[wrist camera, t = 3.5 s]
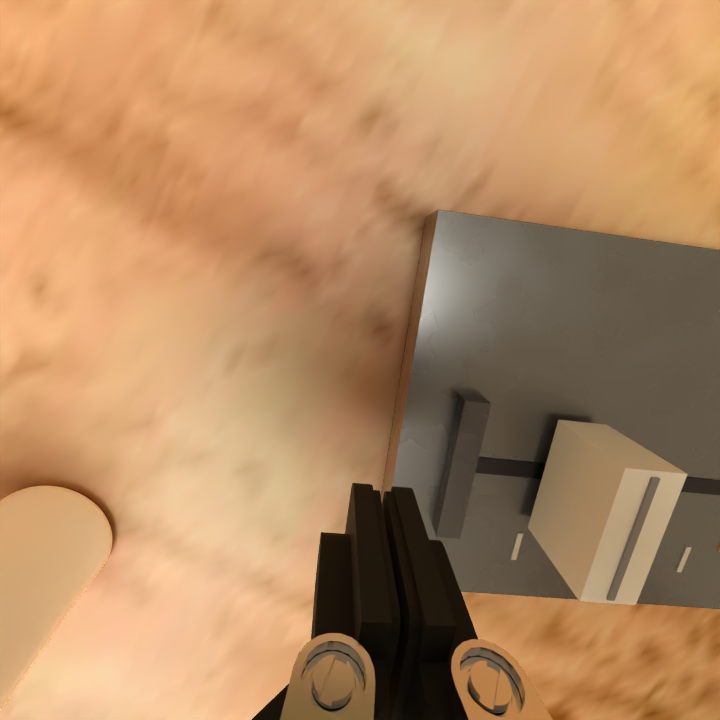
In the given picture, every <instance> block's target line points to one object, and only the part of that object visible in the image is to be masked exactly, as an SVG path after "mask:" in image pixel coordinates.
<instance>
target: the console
mask: <svg viewBox="0 0 720 720" xmlns="http://www.w3.org/2000/svg"><path fill="white" fill-rule="evenodd" d="M558 420H567V421H577V422H587V423H596V424H606V425H608V426H610V427H611V428H613V429H615V430H616V431H618V432H620V433H621V434H623V435H624V436H626V437H628V438H629V439H631V440H633V441H634V442H636V443H638V444H639V445H641V446H643V447H644V448H646V449H647V450H649V451H651V452H652V453H654V454H656V455H657V456H659V457H661V458H662V459H664V460H665V461H667V462H669V463H670V464H672V465H674V466H675V467H677V468H679V469H680V470H682V471H684V472H685V473H687V477H686V479H685V482H684V484H683V487H682V490H681V492H680V495H679V497H678V500H677V502H676V505H675V507H674V510H673V512H672V515H671V517H670V520H669V522H668V525H667V527H666V530H665V532H664V535H663V537H662V540H661V543H660V545H659V548H658V550H657V553H656V555H655V558H654V560H653V563H652V565H651V568H650V570H649V573H648V575H647V578H646V580H645V583H644V585H643V588H642V590H641V593H640V596H639V598H638V601H637V603H639V604H653V605H668V606H683V607H698V608H712V609H720V250H715V249H708V248H701V247H694V246H687V245H680V244H673V243H666V242H659V241H653V240H646V239H639V238H632V237H625V236H618V235H611V234H604V233H597V232H590V231H583V230H576V229H569V228H562V227H555V226H548V225H542V224H535V223H528V222H521V221H514V220H507V219H500V218H493V217H486V216H479V215H472V214H465V213H458V212H451V211H444V210H437V211H435V212H434V213H432V214H430V215H429V216H427V217H426V220H425V226H424V232H423V238H422V245H421V251H420V257H419V263H418V269H417V276H416V282H415V288H414V294H413V301H412V307H411V313H410V319H409V325H408V332H407V338H406V344H405V350H404V356H403V363H402V369H401V375H400V381H399V387H398V394H397V400H396V406H395V412H394V418H393V425H392V431H391V437H390V443H389V449H388V456H387V462H386V468H385V474H384V480H383V487H382V493H381V502H382V501H383V495H384V492H385V491H391V488H392V486H396V487H408V488H412V489H413V491H414V494H415V497H416V500H417V504H418V507H419V510H420V513H421V516H422V519H423V522H424V526H425V529H426V532H427V535H428V538H429V540H440V541H441V542H442V543H443V545H444V547H445V550H446V553H447V555H448V558H449V561H450V564H451V566H452V569H453V572H454V574H455V577H456V580H457V583H458V585H459V588H460V591H462V592H476V593H491V594H506V595H521V596H535V597H550V598H565V599H577V597H576V596H575V594H574V593H573V592H572V590H571V589H570V587H569V586H568V584H567V583H566V581H565V580H564V579H563V577H562V576H561V574H560V573H559V571H558V570H557V569H556V567H555V566H554V564H553V563H552V561H551V560H550V559H549V557H548V556H547V554H546V553H545V551H544V550H543V549H542V547H541V546H540V544H539V543H538V541H537V540H536V538H535V537H534V536H533V534H532V533H531V531H530V530H529V528H528V525H529V522H530V518H531V515H532V511H533V507H534V504H535V500H536V497H537V493H538V490H539V486H540V483H541V479H542V476H543V472H544V469H545V465H546V462H547V458H548V455H549V451H550V448H551V444H552V441H553V437H554V434H555V430H556V426H557V423H558Z"/></svg>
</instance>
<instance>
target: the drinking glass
mask: <svg viewBox="0 0 720 720" xmlns="http://www.w3.org/2000/svg"><path fill="white" fill-rule="evenodd" d="M111 548H112V531H111V527H110V524H109V522H108V519H107V518H106V516H105V514H104V513H103V512H102V510H101V509H100V508H99V507H98V506H97V505H96V504H95V503H94V502H93V501H91V500H90V499H89V498H87V497H85V496H84V495H82V494H80V493H78V492H76V491H73V490H70V489H67V488H63V487H58V486H49V485H45V486H33V487H28V488H25V489H21V490H19V491H16V492H14V493H12V494H10V495H8V496H6V497H4V498H3V499H1V500H0V711H1V710H2V708H3V707H4V706H5V704H6V703H7V701H8V700H9V698H10V697H11V695H12V694H13V692H14V691H15V689H16V688H17V687H18V685H19V684H20V682H21V681H22V679H23V678H24V676H25V675H26V673H27V672H28V671H29V669H30V668H31V666H32V665H33V663H34V662H35V660H36V659H37V657H38V656H39V655H40V653H41V652H42V650H43V649H44V647H45V646H46V644H47V643H48V642H49V640H50V639H51V637H52V636H53V634H54V633H55V631H56V630H57V628H58V627H59V626H60V624H61V623H62V621H63V620H64V618H65V617H66V616H67V614H68V613H69V611H70V610H71V608H72V607H73V606H74V604H75V603H76V601H77V600H78V598H79V597H80V596H81V594H82V593H83V592H84V591H85V589H86V588H87V587H88V586H89V584H90V583H91V582H92V581H93V579H94V578H95V577H96V576H97V574H98V573H99V572H100V571H101V569H102V568H103V566H104V565H105V563H106V561H107V560H108V557H109V555H110V552H111Z"/></svg>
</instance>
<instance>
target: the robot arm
mask: <svg viewBox="0 0 720 720" xmlns="http://www.w3.org/2000/svg"><path fill="white" fill-rule="evenodd" d="M252 720H552V718H551V716H550V714H549V713H548V711H547V709H546V708H545V706H544V704H543V702H542V701H541V699H540V697H539V695H538V694H537V692H536V690H535V688H534V687H533V685H532V683H531V681H530V680H529V678H528V676H527V675H526V673H525V672H524V670H523V669H522V668H521V666H520V665H519V663H518V662H517V661H516V660H515V659H514V658H513V657H512V656H511V655H510V654H509V653H508V652H507V651H505V650H504V649H502V648H500V647H499V646H497V645H496V644H494V643H491V642H488V641H485V640H478V638H477V635H476V632H475V629H474V627H473V624H472V621H471V618H470V616H469V613H468V610H467V607H466V605H465V602H464V599H463V596H462V594H461V591H460V588H459V585H458V583H457V580H456V577H455V574H454V572H453V569H452V566H451V564H450V561H449V558H448V555H447V553H446V550H445V547H444V545H443V543H442V542H441V541H440V540H429V538H428V535H427V532H426V529H425V526H424V522H423V519H422V516H421V513H420V510H419V507H418V504H417V500H416V497H415V494H414V491H413V489H412V488H408V487H396V486H392V488H391V491H385V492H384V495H383V501H382V502H381V496H380V491H377V490H373V486H372V485H370V484H358V483H353V484H352V488H351V495H350V502H349V509H348V517H347V524H346V531H345V534H338V533H323V532H321V537H320V545H319V554H318V563H317V573H316V583H315V595H314V608H313V621H312V635H311V641H309V642H308V643H307V644H306V645H305V646H304V647H303V649H302V650H301V651H300V652H299V654H298V657H297V659H296V661H295V664H294V666H293V670H292V674H291V678H290V682H289V684H288V685H287V686H286V687H285V688H284V689H283V690H282V691H281V692H280V693H279V694H278V695H277V696H276V697H275V698H274V699H272V700H271V701H270V702H269V703H268V704H267V705H266V706H265V707H264V708H263V709H262V710H261V711H260V712H259V713H258V714H257V715H256V716H255V717H254V718H253V719H252Z"/></svg>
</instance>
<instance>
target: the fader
mask: <svg viewBox="0 0 720 720" xmlns="http://www.w3.org/2000/svg"><path fill="white" fill-rule="evenodd" d="M686 477H687V473H685V472H684V471H682V470H680V469H679V468H677V467H675V466H674V465H672V464H670V463H669V462H667V461H665V460H664V459H662V458H661V457H659V456H657V455H656V454H654V453H652V452H651V451H649V450H647V449H646V448H644V447H643V446H641V445H639V444H638V443H636V442H634V441H633V440H631V439H629V438H628V437H626V436H624V435H623V434H621V433H620V432H618V431H616V430H615V429H613V428H611V427H610V426H608V425H606V424H596V423H587V422H577V421H567V420H558V423H557V426H556V430H555V434H554V437H553V441H552V444H551V448H550V451H549V455H548V458H547V462H546V465H545V469H544V472H543V476H542V479H541V483H540V486H539V490H538V493H537V497H536V500H535V504H534V507H533V511H532V515H531V518H530V522H529V525H528V528H529V530H530V531H531V533H532V534H533V536H534V537H535V538H536V540H537V541H538V543H539V544H540V546H541V547H542V549H543V550H544V551H545V553H546V554H547V556H548V557H549V559H550V560H551V561H552V563H553V564H554V566H555V567H556V569H557V570H558V571H559V573H560V574H561V576H562V577H563V579H564V580H565V581H566V583H567V584H568V586H569V587H570V589H571V590H572V592H573V593H574V594H575V596H576V597H577V599H578V600H579V601H582V602H596V603H611V604H626V605H636V603H637V601H638V598H639V596H640V593H641V590H642V588H643V585H644V583H645V580H646V578H647V575H648V573H649V570H650V568H651V565H652V563H653V560H654V558H655V555H656V553H657V550H658V548H659V545H660V543H661V540H662V537H663V535H664V532H665V530H666V527H667V525H668V522H669V520H670V517H671V515H672V512H673V510H674V507H675V505H676V502H677V500H678V497H679V495H680V492H681V490H682V487H683V484H684V482H685V479H686Z"/></svg>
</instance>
